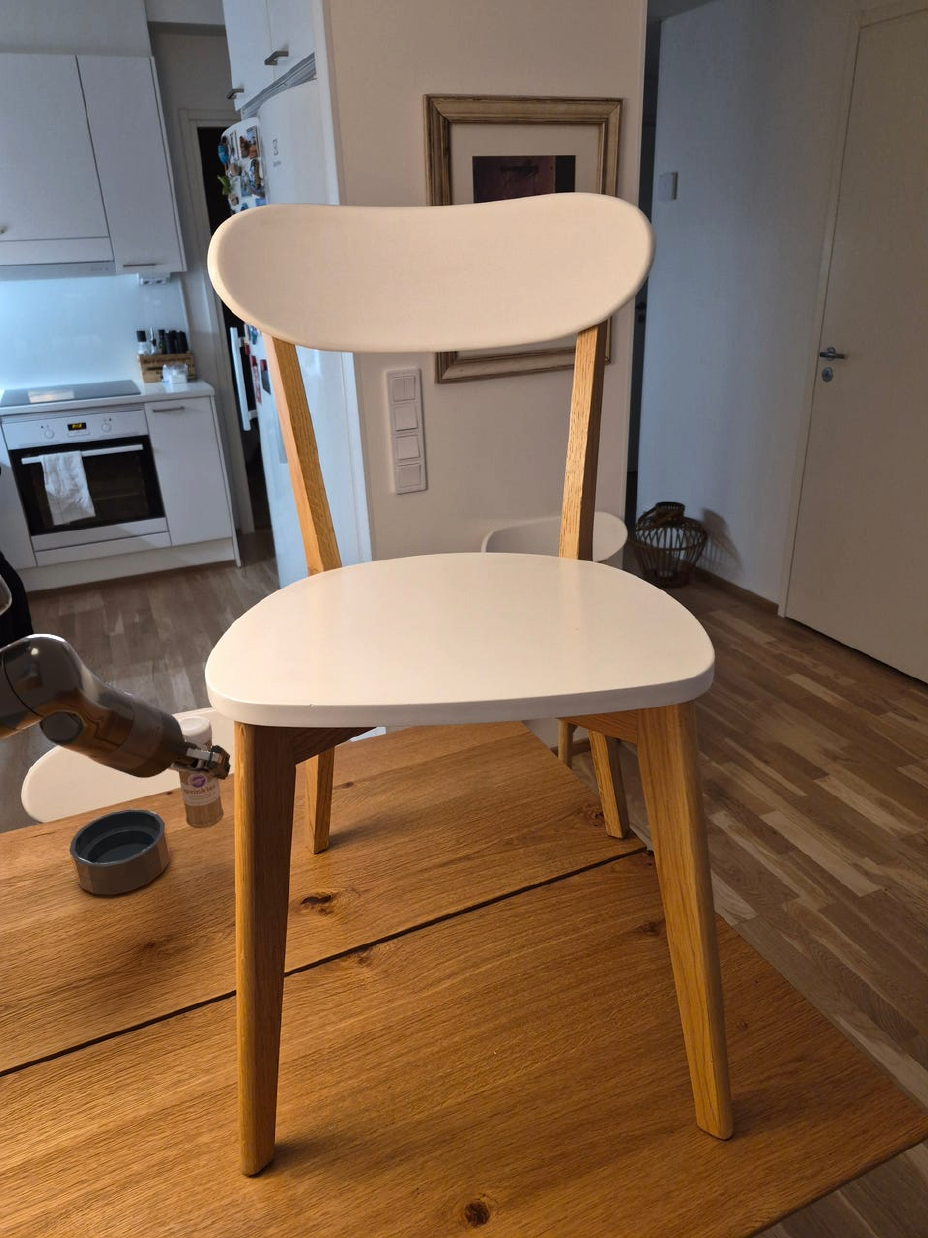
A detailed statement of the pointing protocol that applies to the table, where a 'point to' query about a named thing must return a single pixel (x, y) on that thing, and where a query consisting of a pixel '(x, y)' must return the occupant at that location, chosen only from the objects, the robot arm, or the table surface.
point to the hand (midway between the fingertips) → (206, 768)
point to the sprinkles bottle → (200, 780)
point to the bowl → (120, 851)
